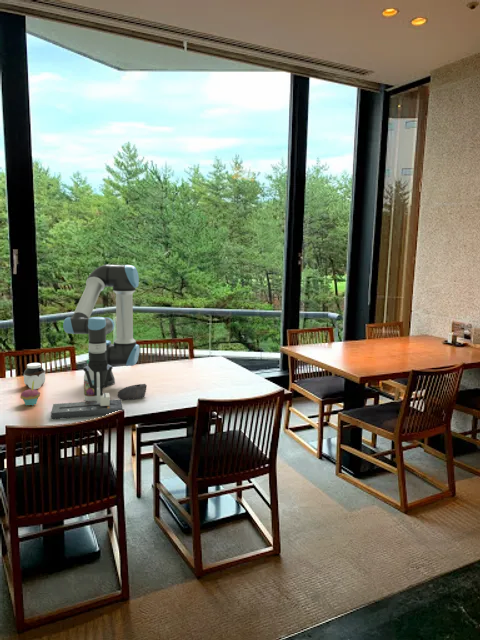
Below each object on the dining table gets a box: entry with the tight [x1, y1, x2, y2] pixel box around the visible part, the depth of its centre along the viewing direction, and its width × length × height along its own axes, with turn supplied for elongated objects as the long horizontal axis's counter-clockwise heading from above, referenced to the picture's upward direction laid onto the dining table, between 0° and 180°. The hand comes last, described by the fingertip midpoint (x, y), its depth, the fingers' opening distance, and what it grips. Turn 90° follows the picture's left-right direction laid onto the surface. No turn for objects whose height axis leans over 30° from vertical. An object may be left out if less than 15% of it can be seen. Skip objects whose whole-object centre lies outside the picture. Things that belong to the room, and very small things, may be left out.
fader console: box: [50, 398, 123, 420], centre depth 217 cm, size 12×30×3 cm, turn 107°
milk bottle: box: [83, 358, 100, 402], centre depth 233 cm, size 8×8×20 cm
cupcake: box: [20, 381, 41, 406], centre depth 225 cm, size 9×8×12 cm
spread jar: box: [23, 362, 46, 390], centre depth 252 cm, size 12×11×12 cm
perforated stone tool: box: [117, 383, 147, 401], centre depth 237 cm, size 15×5×7 cm, turn 115°
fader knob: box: [100, 392, 111, 406], centre depth 219 cm, size 6×4×4 cm, turn 17°
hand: (98, 402), depth 218 cm, fingers closed
